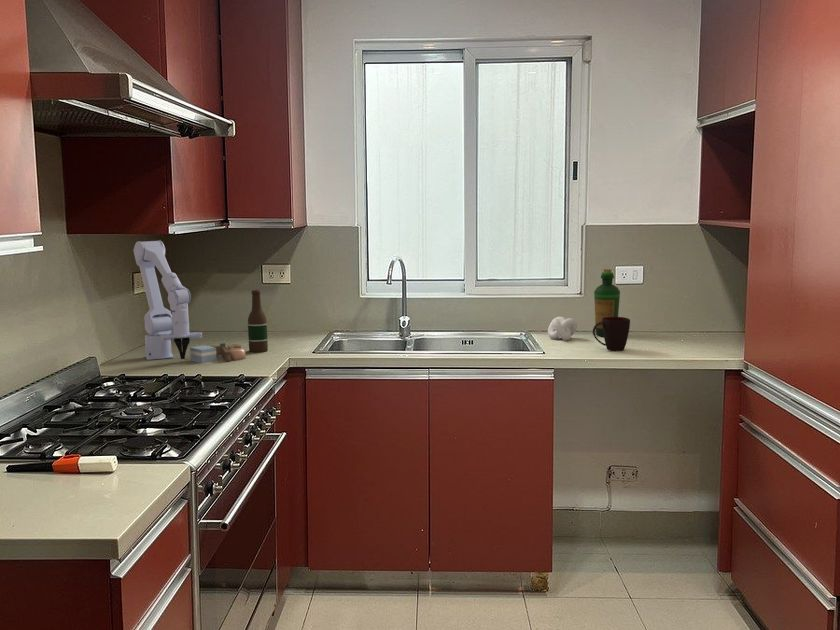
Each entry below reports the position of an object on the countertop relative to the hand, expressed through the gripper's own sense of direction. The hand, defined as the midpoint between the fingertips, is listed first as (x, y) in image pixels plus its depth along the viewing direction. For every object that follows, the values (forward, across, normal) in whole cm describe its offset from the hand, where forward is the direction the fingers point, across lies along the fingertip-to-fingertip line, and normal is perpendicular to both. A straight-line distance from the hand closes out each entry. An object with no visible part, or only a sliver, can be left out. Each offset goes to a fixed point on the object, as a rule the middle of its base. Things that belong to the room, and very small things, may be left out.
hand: (182, 358), depth 295 cm
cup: (+2, +154, -46) cm, 160 cm away
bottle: (+2, +170, -17) cm, 171 cm away
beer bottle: (+1, +29, +10) cm, 31 cm away
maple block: (+1, +19, +5) cm, 20 cm away
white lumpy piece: (+2, +149, -16) cm, 150 cm away
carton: (+1, +7, 0) cm, 8 cm away
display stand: (+1, +11, +1) cm, 12 cm away
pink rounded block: (+1, +19, -2) cm, 20 cm away
